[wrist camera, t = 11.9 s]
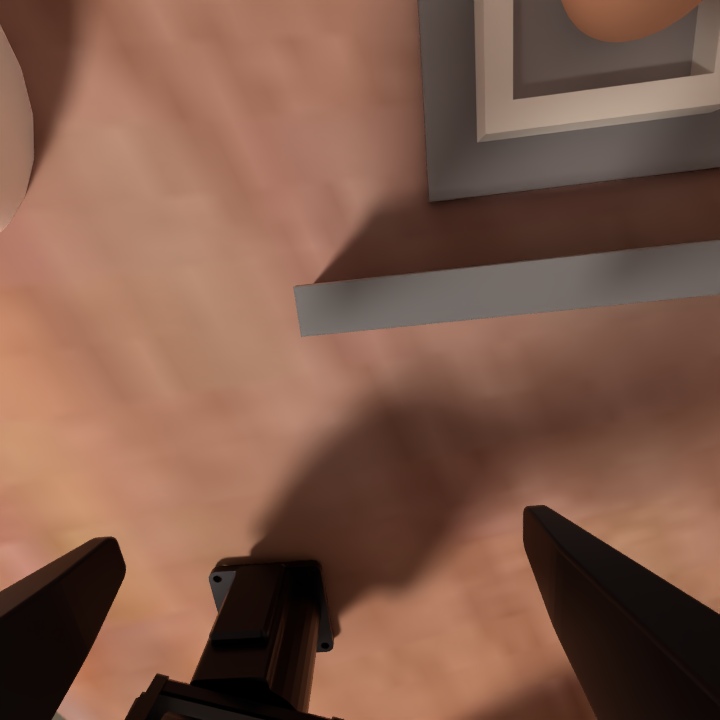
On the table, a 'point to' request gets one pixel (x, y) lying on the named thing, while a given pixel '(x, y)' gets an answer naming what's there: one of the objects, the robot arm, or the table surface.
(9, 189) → the honey pot
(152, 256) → the table surface
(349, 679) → the table surface
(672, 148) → the mat
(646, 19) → the ball
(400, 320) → the gray fence
